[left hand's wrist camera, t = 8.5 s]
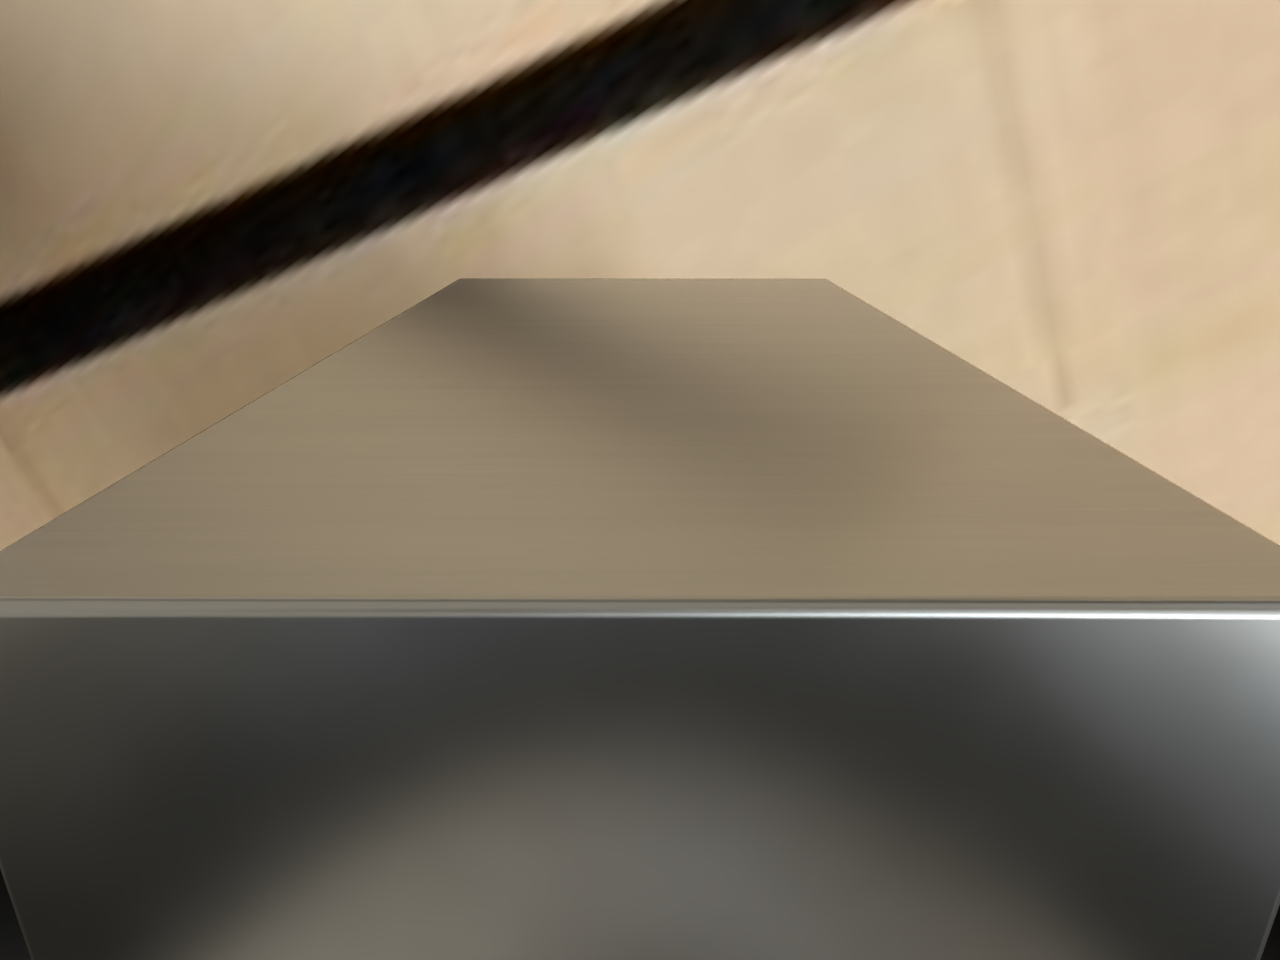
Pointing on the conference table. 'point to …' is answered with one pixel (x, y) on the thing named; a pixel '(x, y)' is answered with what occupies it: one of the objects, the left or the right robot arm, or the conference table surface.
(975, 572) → the box
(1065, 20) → the conference table surface
